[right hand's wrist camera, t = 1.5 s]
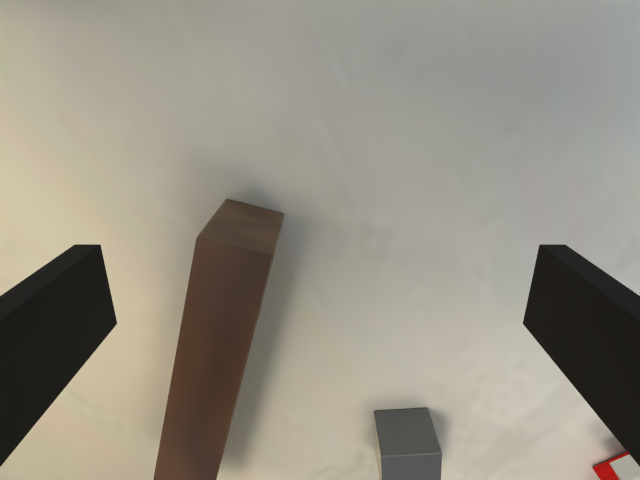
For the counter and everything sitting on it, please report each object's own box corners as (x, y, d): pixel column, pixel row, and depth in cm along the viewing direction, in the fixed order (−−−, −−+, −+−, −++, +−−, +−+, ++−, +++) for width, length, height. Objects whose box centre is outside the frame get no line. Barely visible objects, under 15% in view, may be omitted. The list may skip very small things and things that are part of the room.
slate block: (375, 450, 41) (382, 499, 36) (373, 410, 39) (380, 456, 34) (426, 447, 40) (440, 495, 36) (427, 407, 39) (442, 452, 34)
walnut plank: (176, 447, 40) (144, 531, 33) (226, 198, 31) (196, 237, 24) (222, 456, 41) (200, 541, 33) (284, 213, 32) (273, 256, 24)
